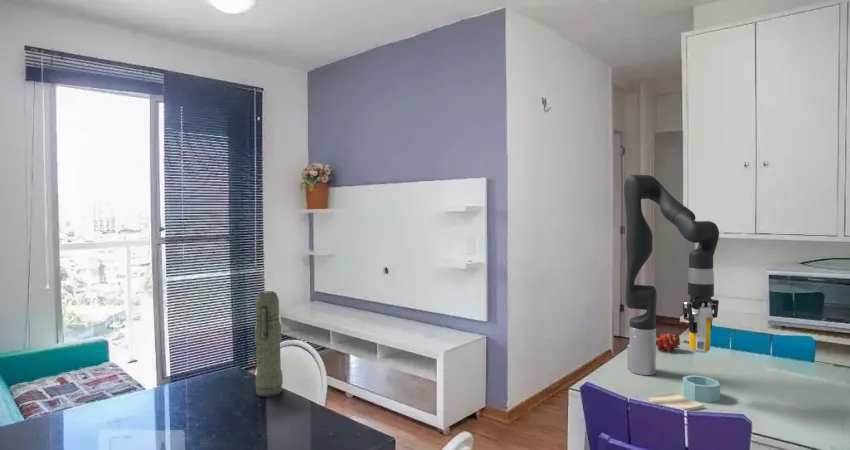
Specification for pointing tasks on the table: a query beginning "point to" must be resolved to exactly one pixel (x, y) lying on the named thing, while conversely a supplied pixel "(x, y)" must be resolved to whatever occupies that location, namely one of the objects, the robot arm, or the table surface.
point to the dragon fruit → (667, 342)
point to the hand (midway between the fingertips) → (700, 331)
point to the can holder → (701, 388)
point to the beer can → (701, 331)
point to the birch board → (676, 401)
